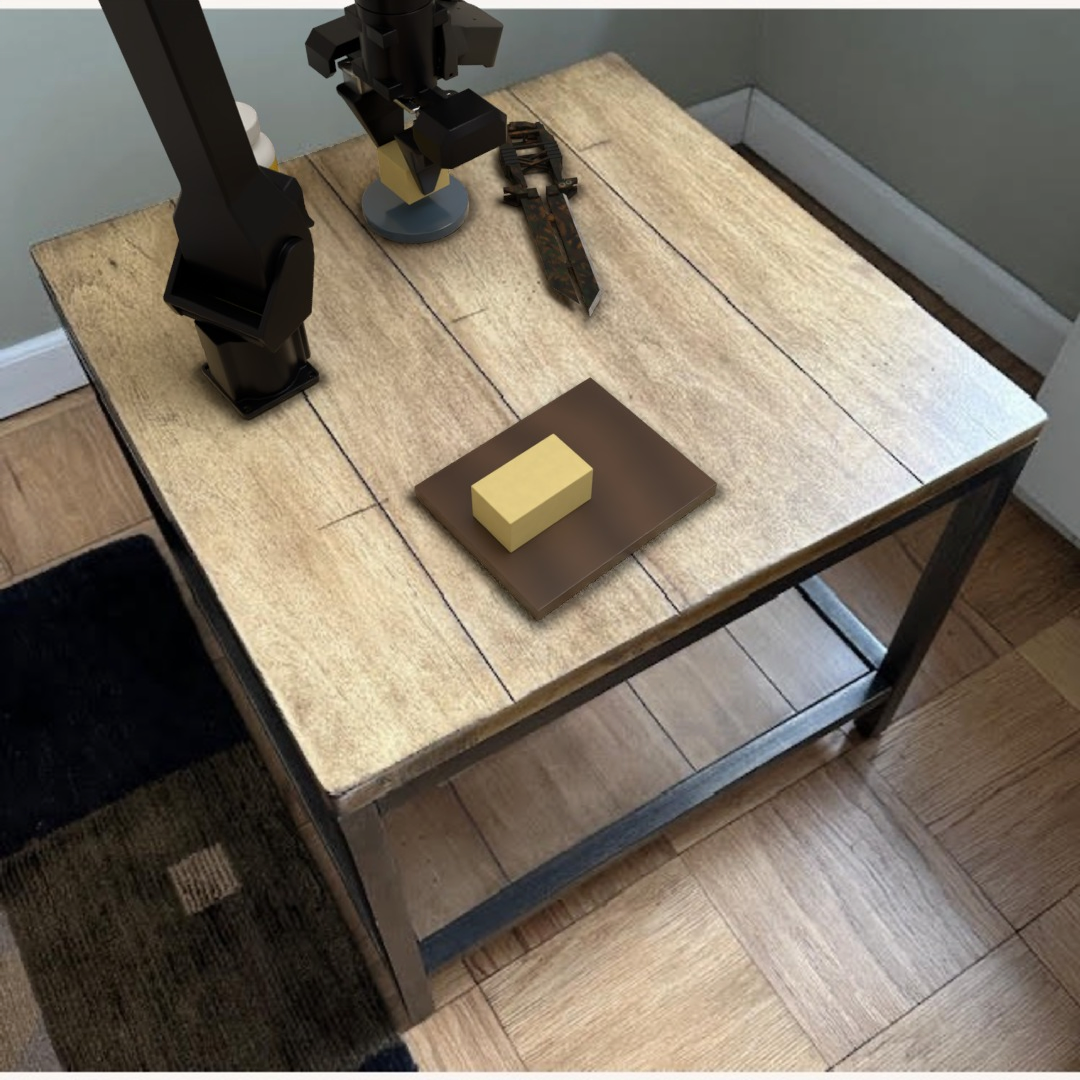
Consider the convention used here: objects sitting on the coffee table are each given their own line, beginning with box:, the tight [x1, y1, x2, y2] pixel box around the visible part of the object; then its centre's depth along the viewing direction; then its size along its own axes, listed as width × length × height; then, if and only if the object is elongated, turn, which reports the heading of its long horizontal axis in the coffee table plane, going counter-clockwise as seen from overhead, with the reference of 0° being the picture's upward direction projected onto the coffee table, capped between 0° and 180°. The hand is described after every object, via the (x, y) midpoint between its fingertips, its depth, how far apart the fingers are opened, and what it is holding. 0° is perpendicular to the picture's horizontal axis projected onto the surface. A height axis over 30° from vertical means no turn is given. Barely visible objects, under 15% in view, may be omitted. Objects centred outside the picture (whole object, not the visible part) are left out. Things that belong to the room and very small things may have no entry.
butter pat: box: [376, 140, 450, 205], centre depth 90 cm, size 4×4×3 cm
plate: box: [361, 173, 470, 244], centre depth 93 cm, size 9×9×1 cm
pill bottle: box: [235, 100, 280, 172], centre depth 86 cm, size 6×6×11 cm
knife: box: [498, 120, 604, 317], centre depth 92 cm, size 25×6×1 cm, turn 8°
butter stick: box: [471, 434, 593, 552], centre depth 72 cm, size 7×4×3 cm, turn 130°
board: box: [413, 376, 718, 622], centre depth 75 cm, size 16×13×1 cm
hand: (412, 180), depth 91 cm, fingers closed on butter pat, 4 cm apart
